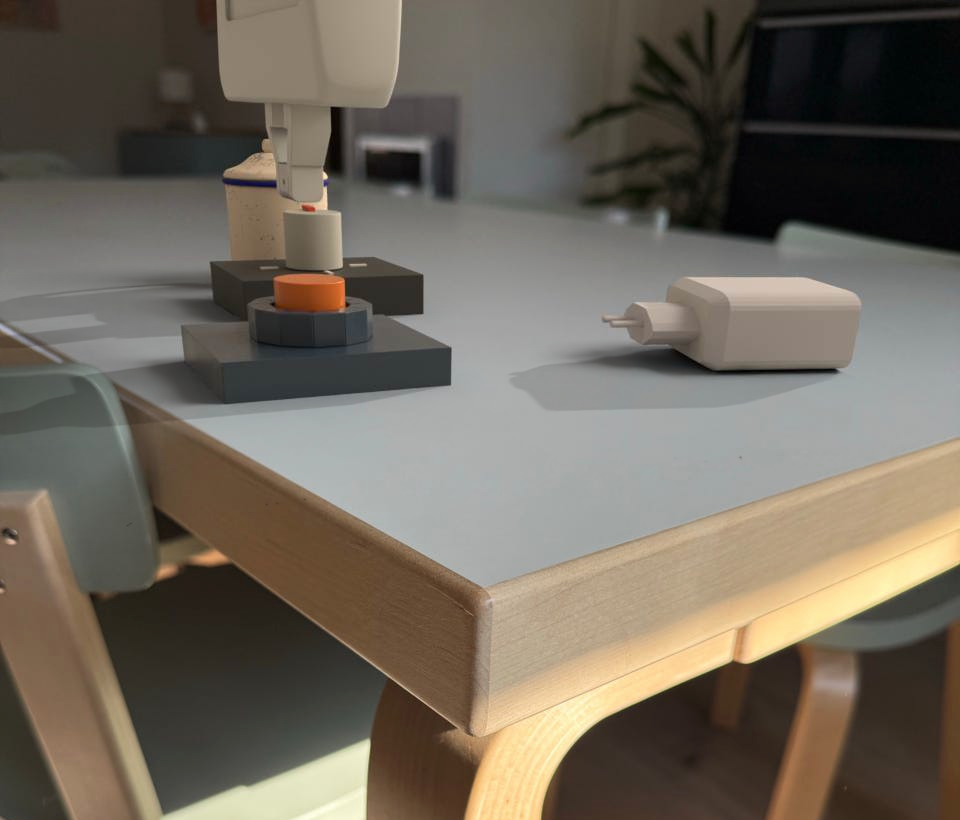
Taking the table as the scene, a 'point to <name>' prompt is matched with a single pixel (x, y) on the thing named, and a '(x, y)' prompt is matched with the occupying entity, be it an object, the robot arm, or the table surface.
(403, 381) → the switch block
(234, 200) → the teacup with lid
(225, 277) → the kettle base
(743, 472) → the table surface
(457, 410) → the table surface
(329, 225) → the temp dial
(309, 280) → the power button
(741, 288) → the charger
